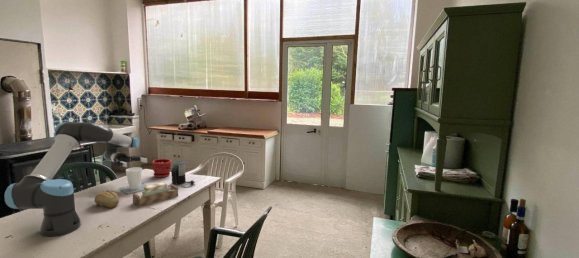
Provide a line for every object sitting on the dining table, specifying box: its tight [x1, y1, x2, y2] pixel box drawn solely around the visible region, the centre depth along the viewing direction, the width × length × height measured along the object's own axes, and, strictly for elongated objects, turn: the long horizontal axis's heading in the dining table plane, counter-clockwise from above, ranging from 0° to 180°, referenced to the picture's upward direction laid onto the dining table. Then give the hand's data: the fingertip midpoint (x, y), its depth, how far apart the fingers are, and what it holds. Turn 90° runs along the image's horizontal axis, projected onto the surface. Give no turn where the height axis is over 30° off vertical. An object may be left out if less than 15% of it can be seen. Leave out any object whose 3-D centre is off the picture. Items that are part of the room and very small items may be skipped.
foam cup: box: [125, 166, 143, 190], centre depth 192 cm, size 10×9×13 cm
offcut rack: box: [131, 183, 179, 208], centre depth 175 cm, size 24×8×6 cm, turn 138°
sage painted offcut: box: [141, 186, 170, 197], centre depth 175 cm, size 14×4×2 cm, turn 138°
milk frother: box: [170, 160, 196, 186], centre depth 204 cm, size 14×16×15 cm
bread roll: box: [93, 190, 120, 209], centre depth 165 cm, size 10×15×8 cm, turn 71°
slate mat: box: [118, 182, 148, 195], centre depth 193 cm, size 15×15×1 cm
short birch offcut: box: [144, 181, 168, 193], centre depth 175 cm, size 12×4×2 cm, turn 138°
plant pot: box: [151, 158, 172, 178], centre depth 220 cm, size 13×13×12 cm
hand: (136, 162), depth 189 cm, fingers open, 13 cm apart
